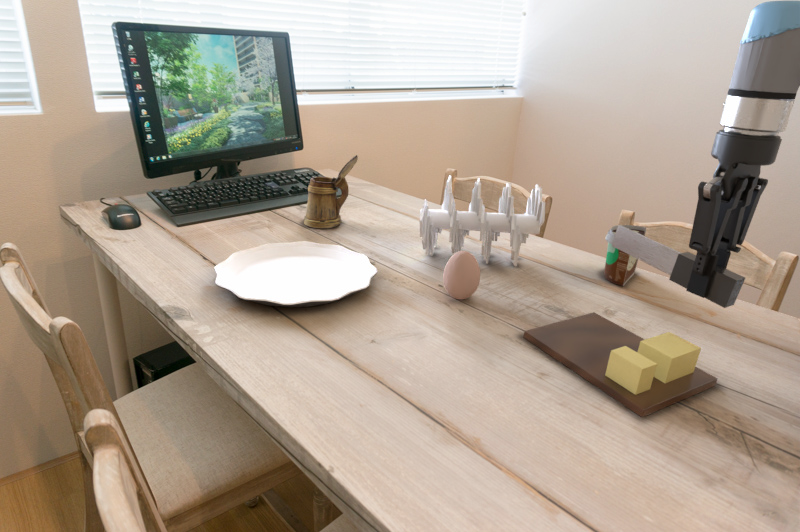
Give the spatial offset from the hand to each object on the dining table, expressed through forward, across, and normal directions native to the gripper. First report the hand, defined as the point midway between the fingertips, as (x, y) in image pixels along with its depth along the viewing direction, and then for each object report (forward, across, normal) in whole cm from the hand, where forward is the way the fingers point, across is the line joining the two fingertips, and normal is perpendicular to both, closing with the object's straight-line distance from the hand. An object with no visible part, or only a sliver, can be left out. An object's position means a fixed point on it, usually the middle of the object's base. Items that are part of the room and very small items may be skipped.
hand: (702, 291), depth 79 cm
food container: (+11, -16, -26) cm, 32 cm away
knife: (0, 0, -6) cm, 6 cm away
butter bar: (+9, +10, +3) cm, 14 cm away
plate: (+10, +45, -50) cm, 68 cm away
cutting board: (+10, +13, -3) cm, 17 cm away
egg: (+10, +21, -30) cm, 39 cm away
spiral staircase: (+10, +6, -45) cm, 47 cm away
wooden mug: (+10, +26, -78) cm, 83 cm away
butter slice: (+9, +18, +3) cm, 20 cm away
